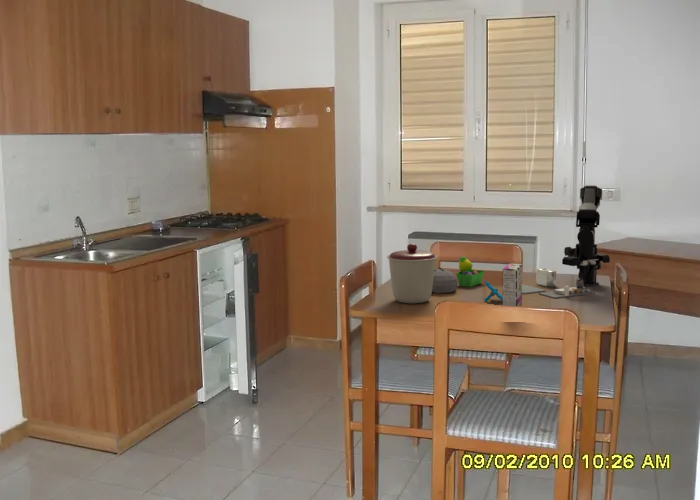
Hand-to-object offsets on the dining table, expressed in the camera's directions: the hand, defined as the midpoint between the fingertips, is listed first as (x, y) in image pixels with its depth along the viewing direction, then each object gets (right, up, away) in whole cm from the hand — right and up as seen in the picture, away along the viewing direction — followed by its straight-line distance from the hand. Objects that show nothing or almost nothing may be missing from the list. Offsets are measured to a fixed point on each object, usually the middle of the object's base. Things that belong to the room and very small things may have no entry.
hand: (585, 282), depth 277 cm
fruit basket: (-41, -2, +18) cm, 45 cm away
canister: (-67, -7, -12) cm, 68 cm away
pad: (-22, -3, +5) cm, 23 cm away
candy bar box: (-36, -10, -36) cm, 52 cm away
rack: (-6, -4, -3) cm, 8 cm away
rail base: (-8, -4, -4) cm, 10 cm away
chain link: (-11, -2, +15) cm, 18 cm away
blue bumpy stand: (-37, -7, -14) cm, 41 cm away
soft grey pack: (-55, -4, +9) cm, 56 cm away
